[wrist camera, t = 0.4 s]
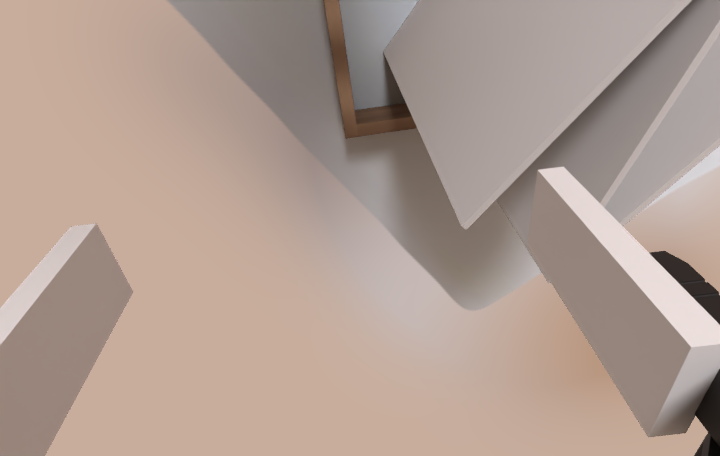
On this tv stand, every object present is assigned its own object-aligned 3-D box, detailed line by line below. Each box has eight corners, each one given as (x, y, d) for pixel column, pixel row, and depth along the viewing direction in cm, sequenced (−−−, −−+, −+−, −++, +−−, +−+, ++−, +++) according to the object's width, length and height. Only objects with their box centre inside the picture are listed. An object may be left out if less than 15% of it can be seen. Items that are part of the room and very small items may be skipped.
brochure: (426, 85, 44) (552, 285, 19) (382, 52, 42) (459, 228, 17) (532, -52, 38) (918, -21, 13) (487, -99, 36) (840, -165, 11)
